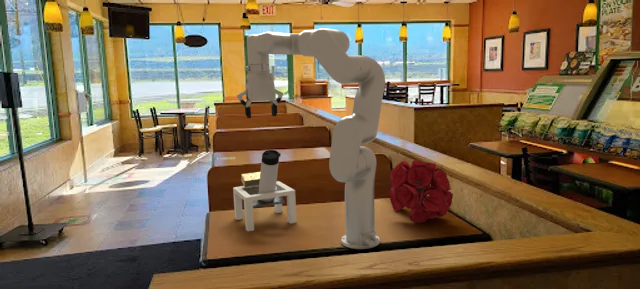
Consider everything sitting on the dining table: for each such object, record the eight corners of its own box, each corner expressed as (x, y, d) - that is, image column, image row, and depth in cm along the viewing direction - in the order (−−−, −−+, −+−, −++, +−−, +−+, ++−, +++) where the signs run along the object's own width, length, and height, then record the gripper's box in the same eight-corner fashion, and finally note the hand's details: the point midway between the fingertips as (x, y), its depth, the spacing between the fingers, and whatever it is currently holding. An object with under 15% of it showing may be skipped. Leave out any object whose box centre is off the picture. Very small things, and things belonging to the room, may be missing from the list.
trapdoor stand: (296, 222, 167) (295, 190, 165) (247, 231, 159) (245, 197, 157) (280, 210, 183) (278, 181, 181) (235, 218, 175) (233, 187, 173)
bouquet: (377, 232, 172) (414, 214, 146) (367, 175, 181) (400, 147, 154) (425, 228, 179) (469, 210, 153) (413, 173, 188) (453, 147, 161)
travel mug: (274, 203, 166) (279, 159, 156) (256, 200, 166) (260, 156, 156) (276, 193, 171) (281, 149, 161) (259, 191, 171) (263, 147, 161)
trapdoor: (284, 203, 169) (285, 193, 166) (251, 208, 163) (251, 198, 161) (271, 179, 180) (272, 170, 178) (239, 183, 175) (240, 174, 173)
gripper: (238, 70, 153) (241, 119, 156) (285, 68, 160) (287, 116, 163) (232, 70, 160) (235, 118, 162) (278, 69, 167) (280, 114, 170)
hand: (261, 116), depth 163 cm, fingers open, 9 cm apart
